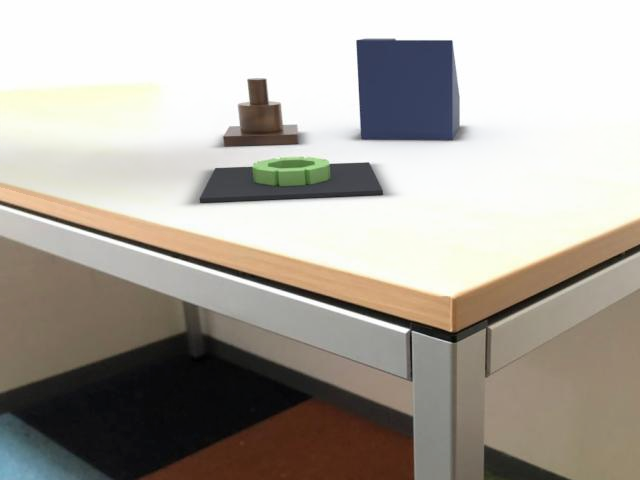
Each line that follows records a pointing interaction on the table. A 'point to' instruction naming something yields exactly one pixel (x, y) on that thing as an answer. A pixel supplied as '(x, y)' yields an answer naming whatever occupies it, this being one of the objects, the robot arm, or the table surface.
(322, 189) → the mat
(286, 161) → the ring
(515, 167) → the table surface
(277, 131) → the stand
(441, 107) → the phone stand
